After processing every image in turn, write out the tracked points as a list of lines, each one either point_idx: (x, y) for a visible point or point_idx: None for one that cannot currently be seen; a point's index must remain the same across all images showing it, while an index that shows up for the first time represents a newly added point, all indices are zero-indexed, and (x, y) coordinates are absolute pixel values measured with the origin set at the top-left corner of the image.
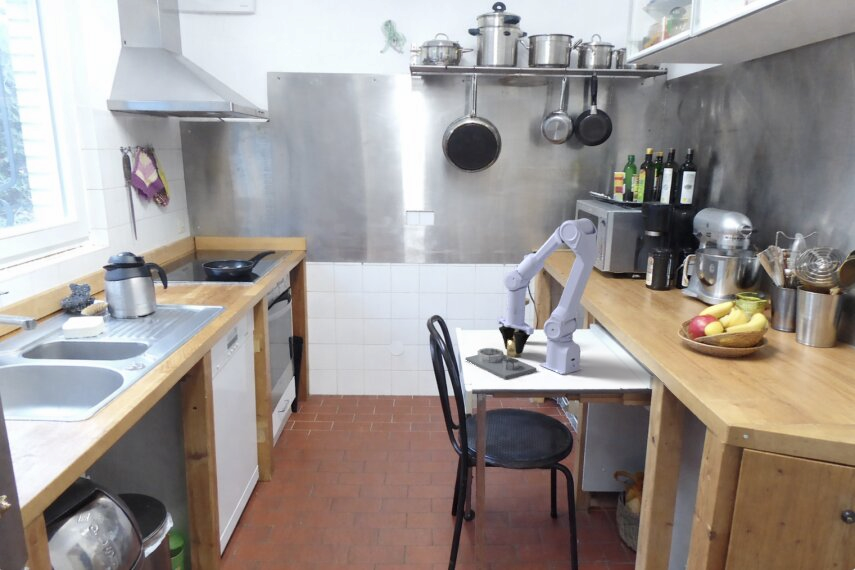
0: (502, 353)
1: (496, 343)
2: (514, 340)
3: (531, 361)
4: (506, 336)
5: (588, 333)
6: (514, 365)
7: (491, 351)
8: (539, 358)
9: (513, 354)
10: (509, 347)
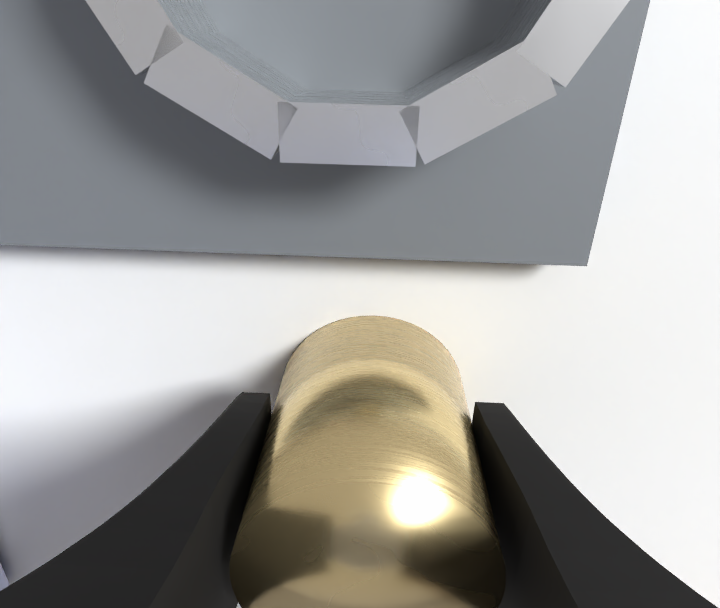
0: (117, 30)
1: None
2: (344, 571)
3: (90, 406)
4: (543, 585)
5: None
6: None
7: (504, 41)
8: None
9: (302, 361)
10: (355, 397)
